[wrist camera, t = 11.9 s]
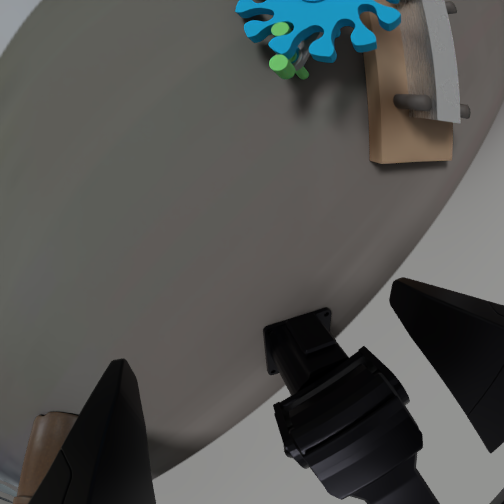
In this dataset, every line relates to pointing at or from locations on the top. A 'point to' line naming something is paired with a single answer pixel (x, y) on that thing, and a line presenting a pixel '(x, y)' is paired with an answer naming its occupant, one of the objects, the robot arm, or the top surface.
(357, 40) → the gear
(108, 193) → the top surface
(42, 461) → the plant pot
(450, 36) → the ball knob lever
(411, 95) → the peg rack
